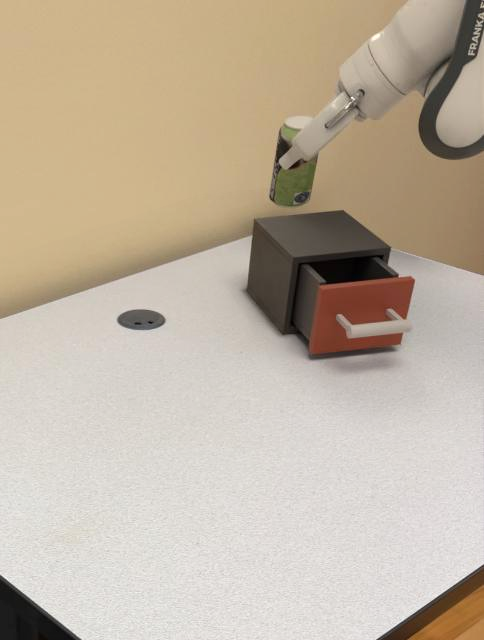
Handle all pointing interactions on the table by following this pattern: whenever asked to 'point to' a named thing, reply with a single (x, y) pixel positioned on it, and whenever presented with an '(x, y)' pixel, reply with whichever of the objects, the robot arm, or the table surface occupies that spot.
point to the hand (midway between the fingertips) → (288, 158)
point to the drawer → (351, 304)
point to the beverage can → (292, 168)
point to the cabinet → (301, 255)
